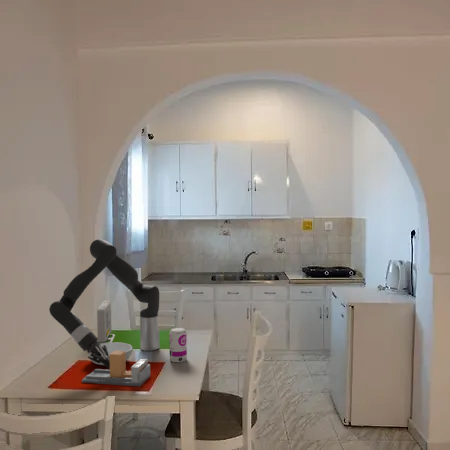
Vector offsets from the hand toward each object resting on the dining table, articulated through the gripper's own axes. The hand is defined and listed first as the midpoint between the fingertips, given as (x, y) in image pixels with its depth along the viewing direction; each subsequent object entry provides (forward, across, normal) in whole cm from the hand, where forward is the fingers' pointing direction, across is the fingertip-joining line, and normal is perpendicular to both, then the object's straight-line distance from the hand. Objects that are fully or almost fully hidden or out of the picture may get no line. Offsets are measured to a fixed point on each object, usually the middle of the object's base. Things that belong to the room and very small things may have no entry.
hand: (110, 366), depth 193 cm
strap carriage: (+7, 0, +2) cm, 8 cm away
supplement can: (+19, -29, +11) cm, 36 cm away
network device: (-17, -55, -25) cm, 63 cm away
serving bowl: (-3, -20, -11) cm, 23 cm away
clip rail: (+6, 0, -2) cm, 6 cm away
